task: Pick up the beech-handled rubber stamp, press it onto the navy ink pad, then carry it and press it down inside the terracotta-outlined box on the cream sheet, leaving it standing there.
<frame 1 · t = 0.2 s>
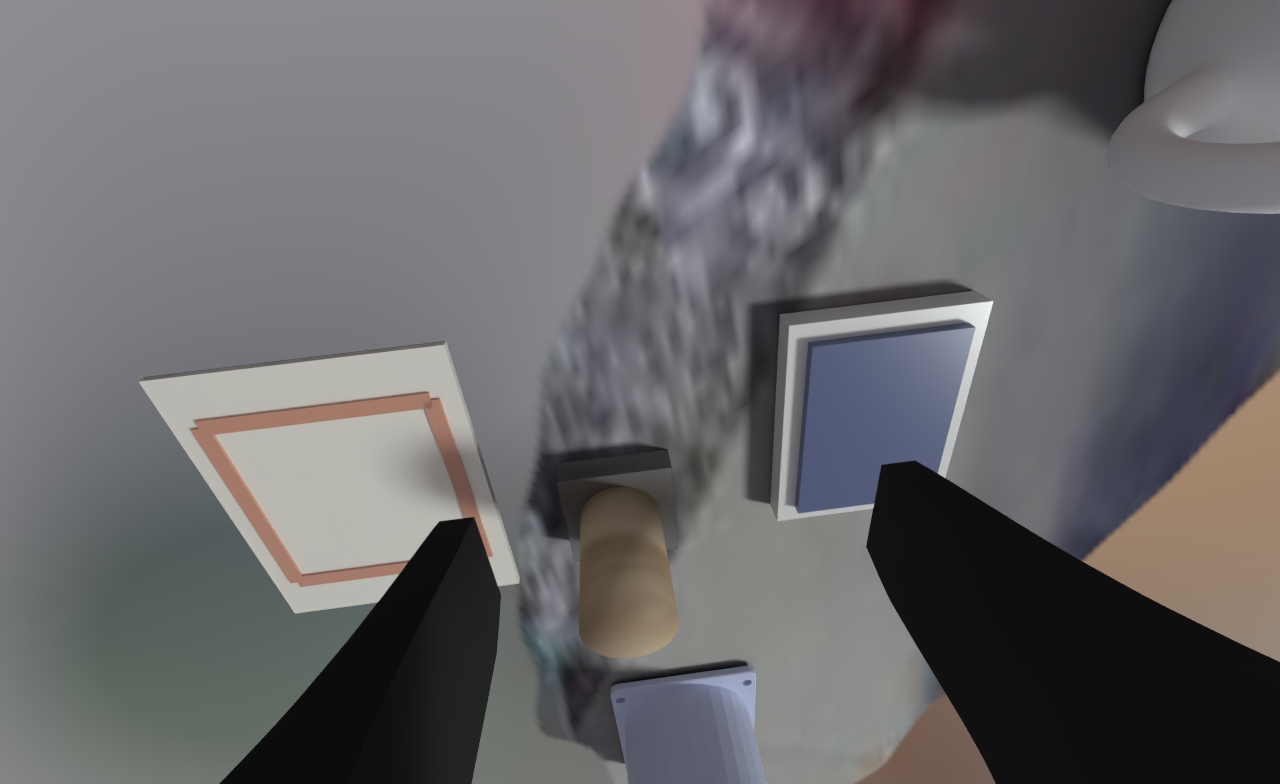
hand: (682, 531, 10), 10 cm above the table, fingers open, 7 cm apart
stamp: (618, 496, 22), on the table
ink pad: (861, 409, 21), on the table
mug: (1202, 58, 16), on the table
sheet: (361, 493, 21), on the table
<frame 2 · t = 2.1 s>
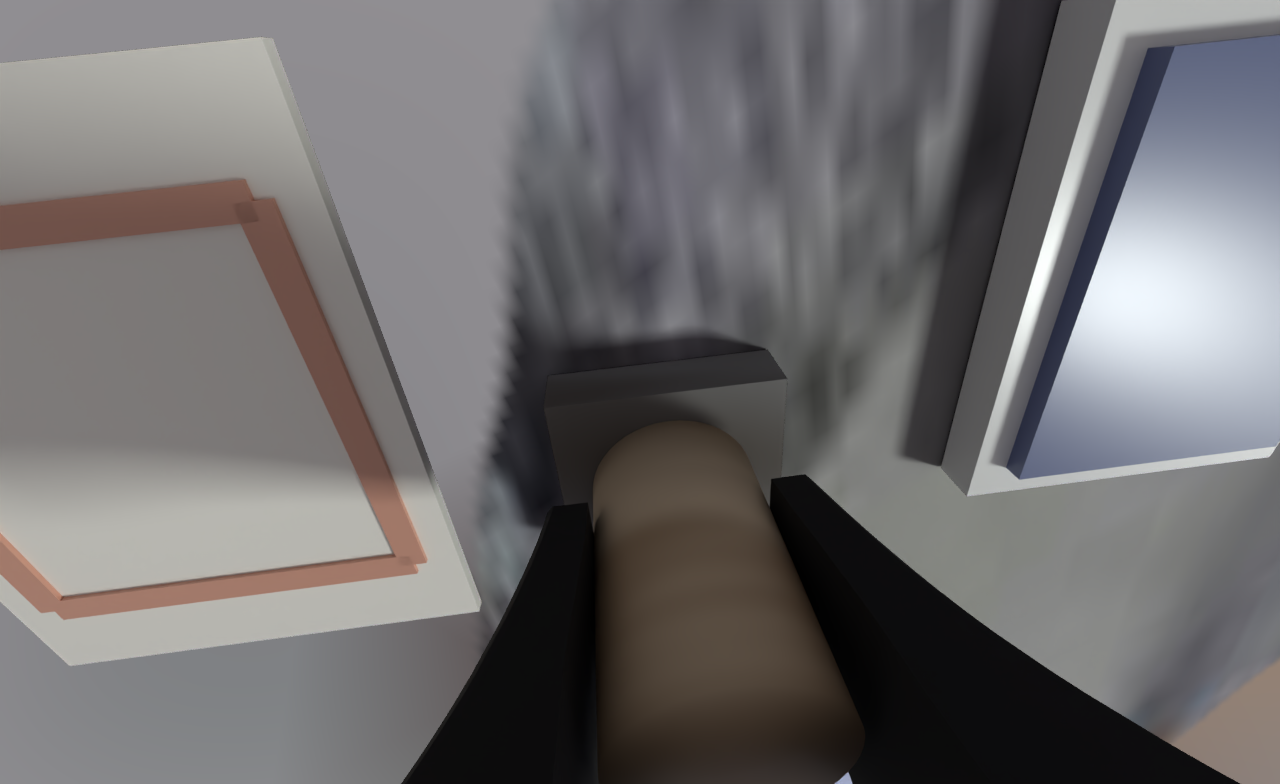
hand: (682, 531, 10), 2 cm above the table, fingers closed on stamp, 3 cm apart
stamp: (665, 451, 12), on the table, touching gripper
ink pad: (1161, 266, 10), on the table
sheet: (148, 433, 10), on the table
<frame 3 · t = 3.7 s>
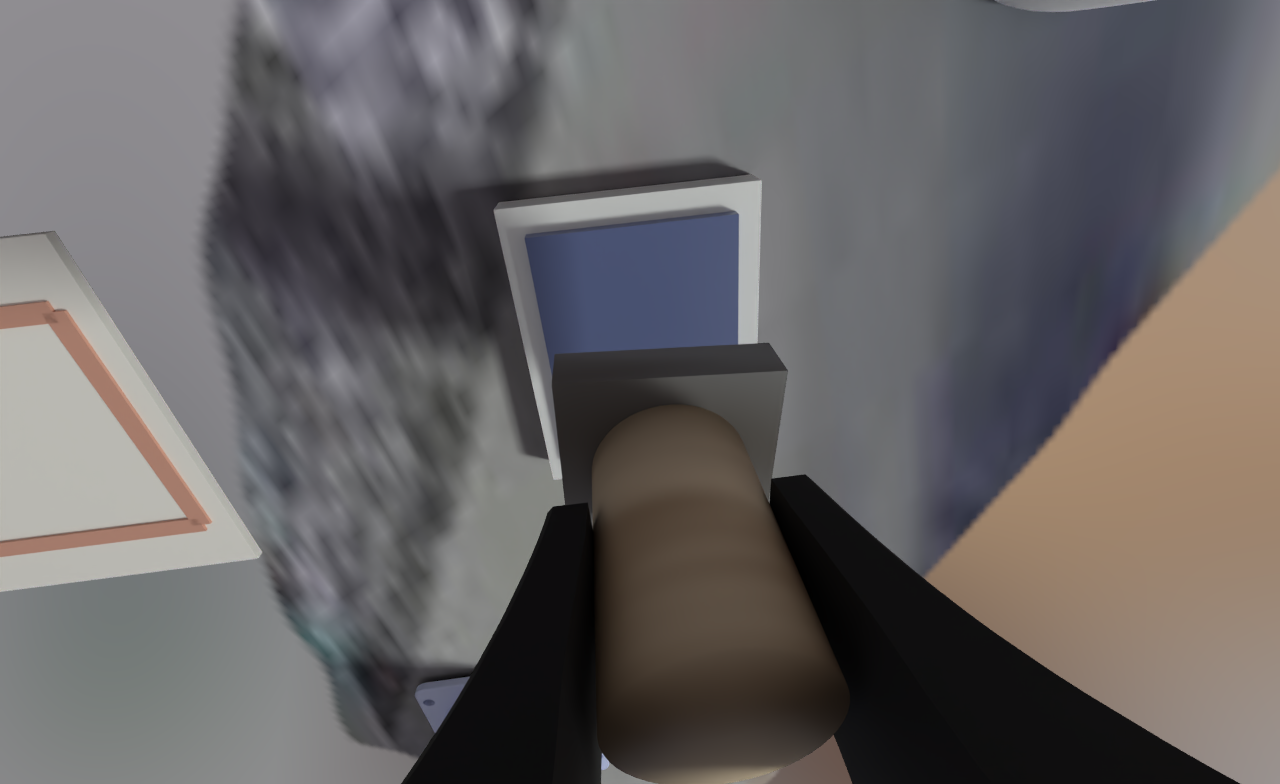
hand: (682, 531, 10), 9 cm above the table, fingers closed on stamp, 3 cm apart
stamp: (662, 435, 12), point 6 cm above the table, touching gripper
ink pad: (640, 336, 17), on the table
sheet: (16, 440, 17), on the table
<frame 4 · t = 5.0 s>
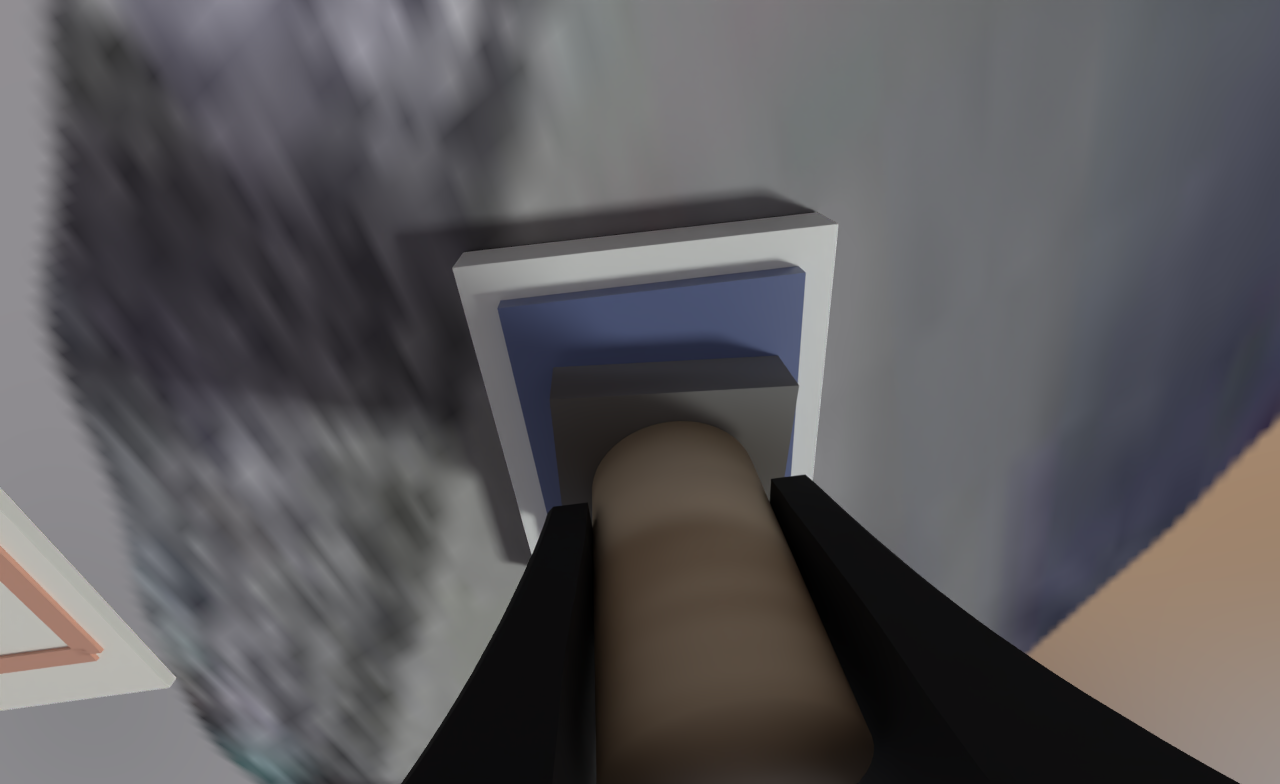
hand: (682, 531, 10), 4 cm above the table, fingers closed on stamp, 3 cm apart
stamp: (665, 452, 11), point 1 cm above the table, touching gripper, ink pad
ink pad: (658, 421, 13), on the table
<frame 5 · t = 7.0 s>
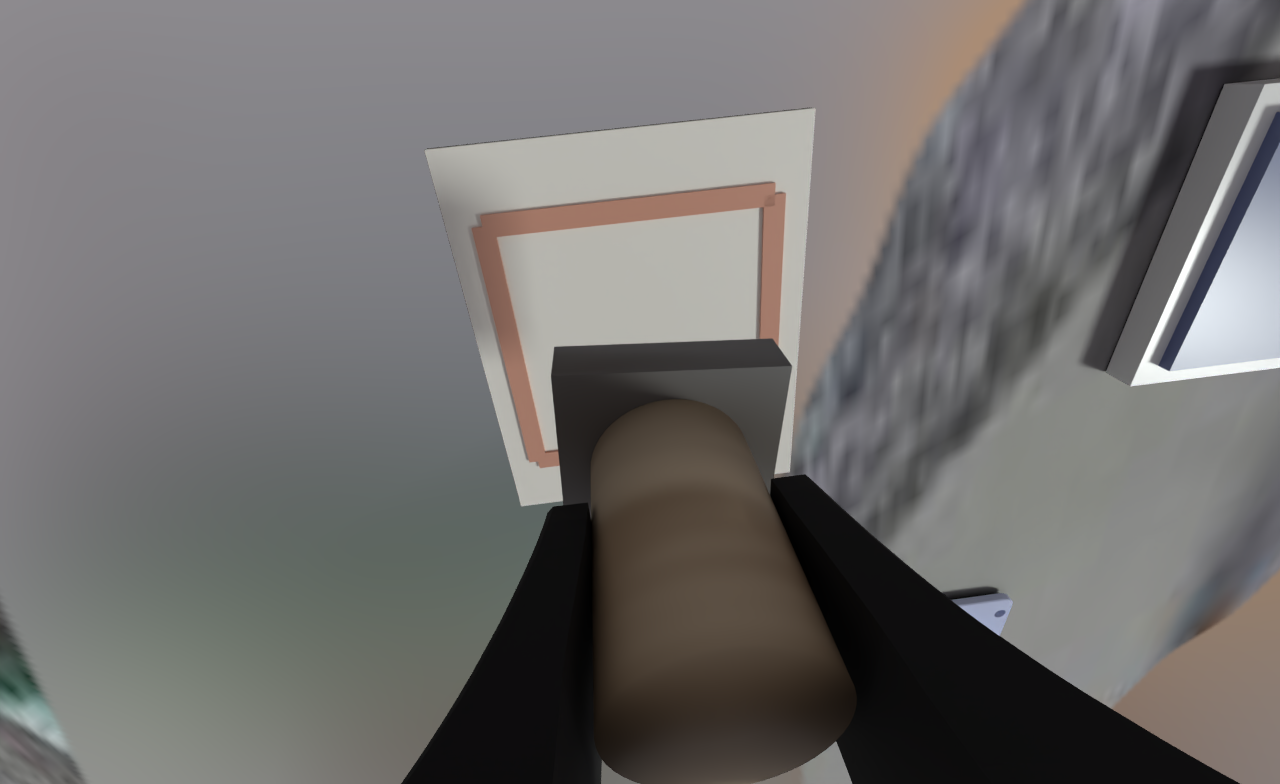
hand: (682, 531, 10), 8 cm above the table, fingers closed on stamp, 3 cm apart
stamp: (662, 432, 12), point 6 cm above the table, touching gripper
ink pad: (1262, 235, 17), on the table
sheet: (641, 338, 17), on the table
when the fingers open (3 cm above the table, at t = 8.3 s): stamp stays where it is, resting on sheet.
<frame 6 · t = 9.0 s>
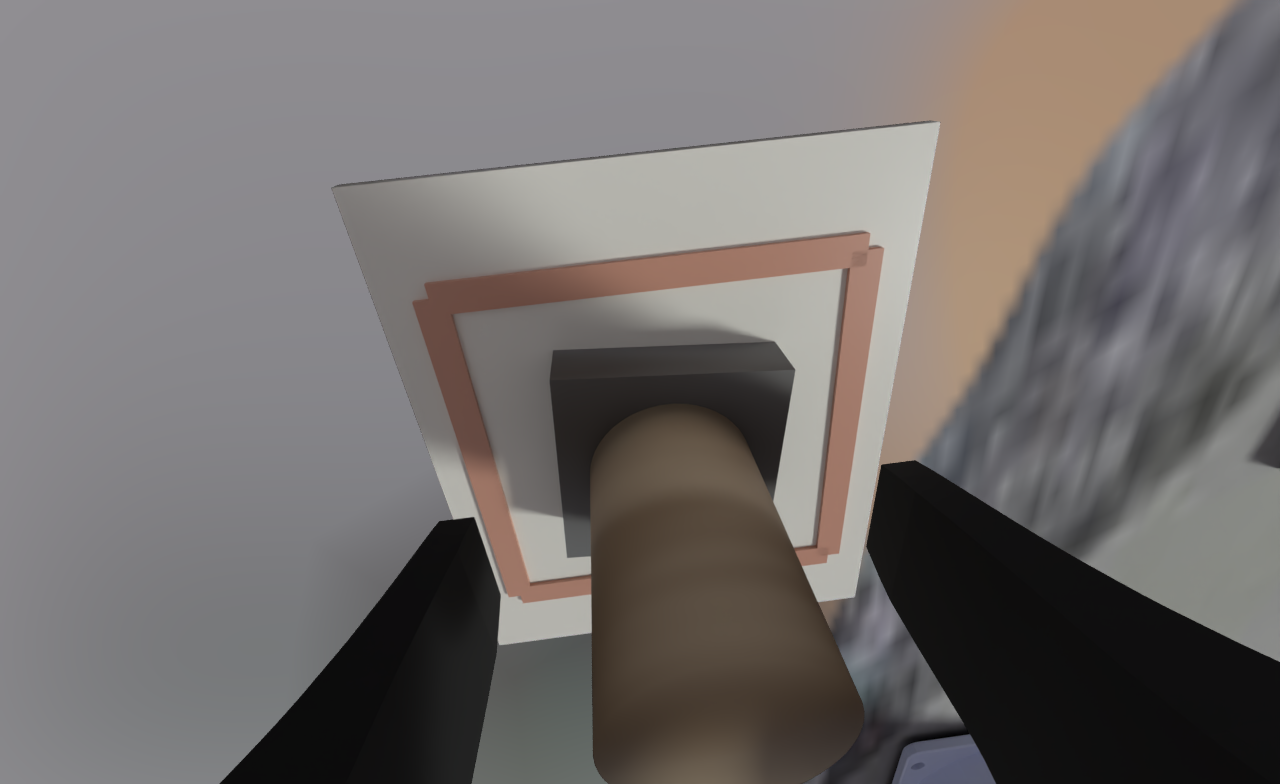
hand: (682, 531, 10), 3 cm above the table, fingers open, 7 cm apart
stamp: (663, 437, 12), resting on sheet
sheet: (663, 440, 12), on the table
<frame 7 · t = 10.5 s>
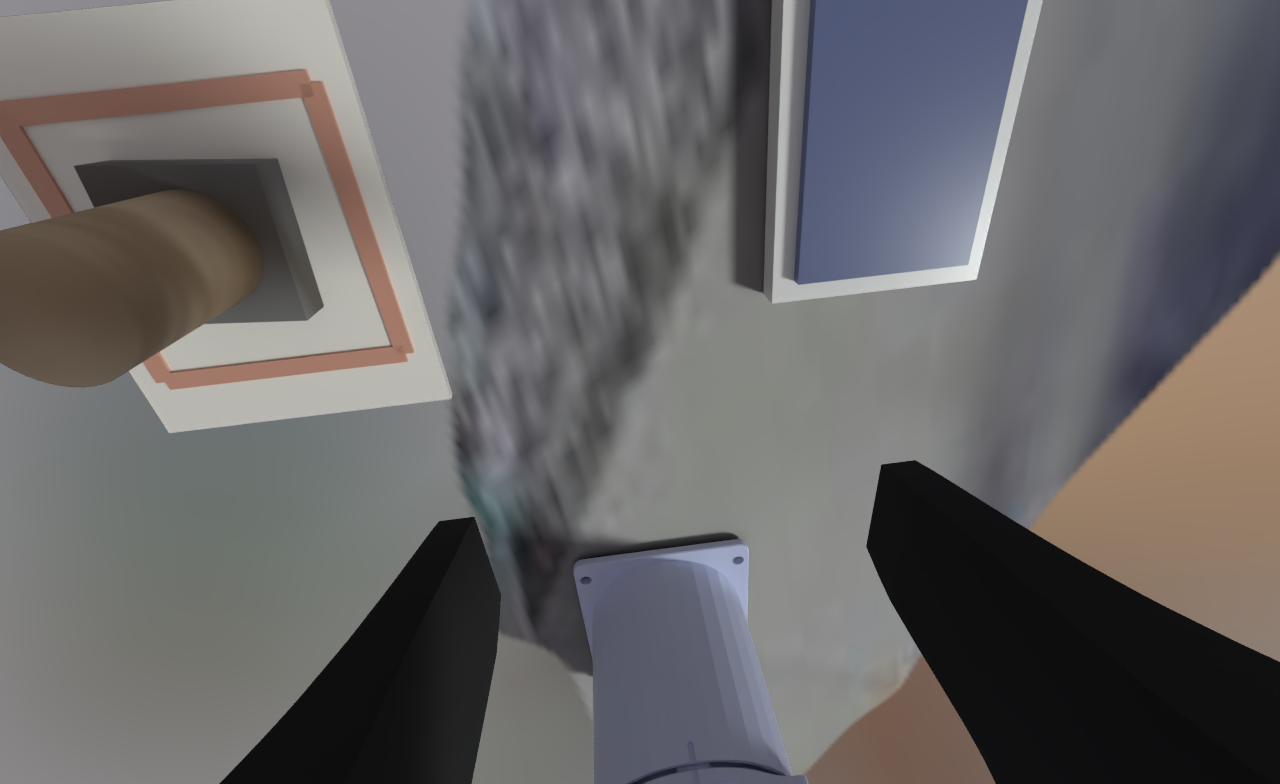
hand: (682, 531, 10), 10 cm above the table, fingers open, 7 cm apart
stamp: (225, 239, 16), resting on sheet
ink pad: (879, 141, 16), on the table
sheet: (236, 247, 16), on the table
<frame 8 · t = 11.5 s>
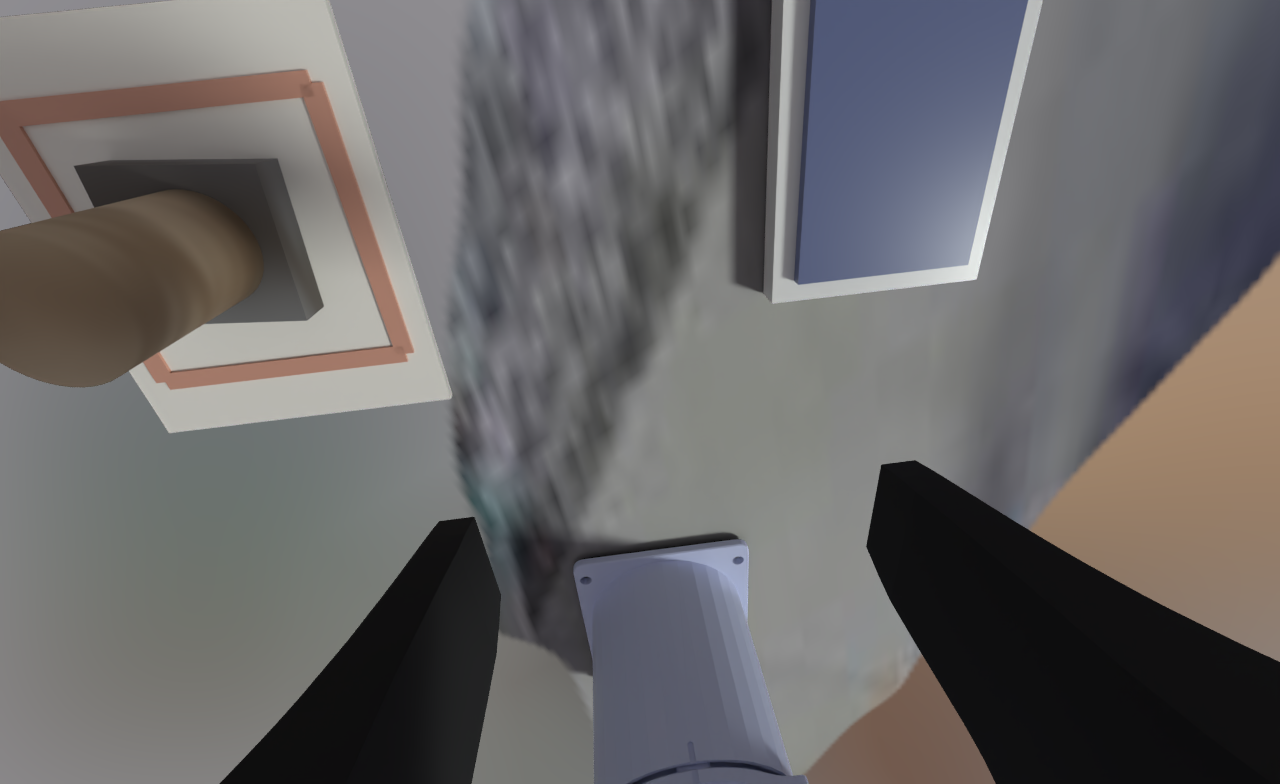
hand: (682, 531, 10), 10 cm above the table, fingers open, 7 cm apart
stamp: (225, 239, 16), resting on sheet
ink pad: (879, 141, 16), on the table
sheet: (236, 247, 16), on the table
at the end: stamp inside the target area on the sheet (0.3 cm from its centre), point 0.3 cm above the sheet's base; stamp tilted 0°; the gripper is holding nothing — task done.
